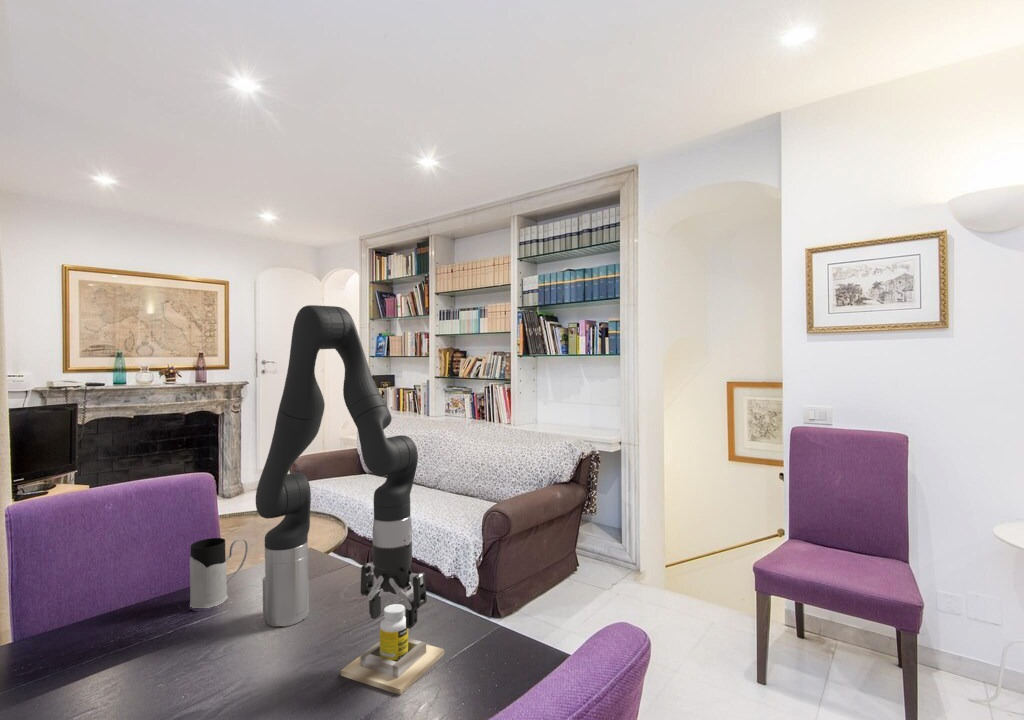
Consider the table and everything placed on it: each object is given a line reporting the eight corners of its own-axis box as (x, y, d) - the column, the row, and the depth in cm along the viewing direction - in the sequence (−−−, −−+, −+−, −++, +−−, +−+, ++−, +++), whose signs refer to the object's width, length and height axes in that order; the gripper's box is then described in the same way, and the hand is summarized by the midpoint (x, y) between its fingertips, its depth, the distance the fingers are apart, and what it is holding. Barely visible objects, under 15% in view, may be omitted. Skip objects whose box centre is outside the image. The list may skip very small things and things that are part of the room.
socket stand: (340, 675, 97) (340, 659, 97) (388, 639, 109) (388, 625, 109) (400, 695, 91) (400, 678, 91) (444, 654, 103) (443, 639, 103)
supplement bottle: (400, 668, 97) (400, 616, 97) (374, 665, 98) (374, 613, 98) (412, 653, 102) (412, 603, 102) (387, 650, 103) (387, 600, 104)
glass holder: (181, 605, 127) (180, 544, 127) (239, 584, 138) (238, 529, 139) (198, 615, 122) (197, 551, 122) (256, 592, 133) (256, 534, 134)
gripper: (350, 540, 100) (351, 623, 100) (410, 551, 94) (411, 639, 94) (376, 528, 107) (377, 606, 107) (433, 538, 101) (434, 620, 101)
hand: (393, 621), depth 100 cm, fingers open, 8 cm apart
